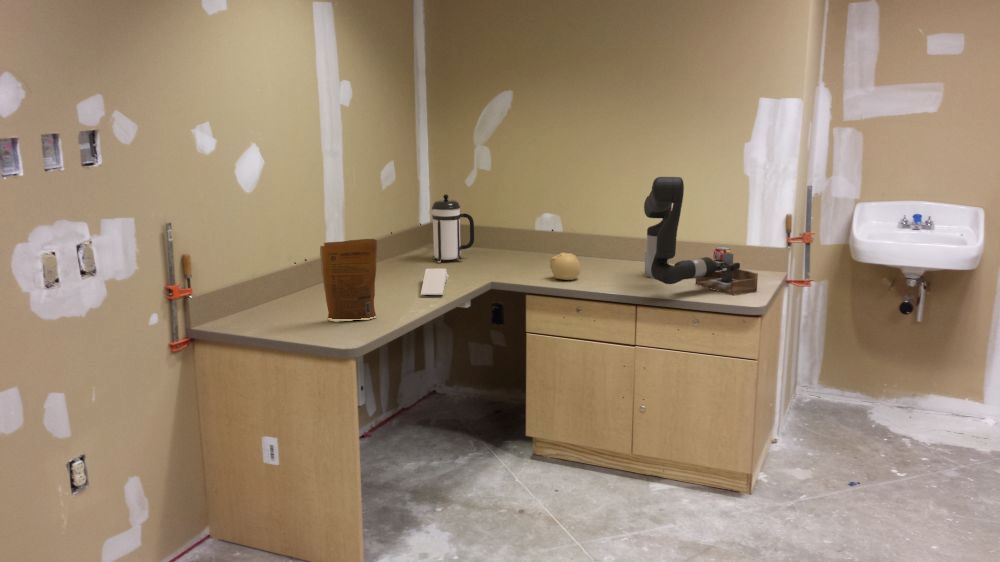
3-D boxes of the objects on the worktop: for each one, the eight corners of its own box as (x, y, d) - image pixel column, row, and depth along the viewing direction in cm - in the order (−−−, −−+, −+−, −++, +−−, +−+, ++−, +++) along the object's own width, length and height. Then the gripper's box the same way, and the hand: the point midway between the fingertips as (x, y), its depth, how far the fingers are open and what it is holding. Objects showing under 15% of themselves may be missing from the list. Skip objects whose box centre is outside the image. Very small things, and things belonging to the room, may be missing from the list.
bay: (695, 284, 350) (696, 266, 349) (718, 280, 356) (719, 263, 354) (733, 295, 332) (733, 276, 331) (756, 291, 338) (757, 273, 336)
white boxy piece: (442, 312, 335) (446, 285, 361) (447, 294, 333) (450, 269, 359) (416, 306, 334) (422, 280, 360) (420, 288, 332) (426, 263, 358)
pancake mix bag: (381, 321, 301) (378, 239, 294) (323, 324, 297) (319, 242, 291) (380, 316, 307) (376, 236, 301) (323, 319, 304) (319, 238, 297)
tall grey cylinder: (719, 284, 345) (720, 250, 342) (726, 283, 347) (728, 249, 344) (726, 286, 341) (728, 251, 338) (734, 285, 343) (735, 250, 340)
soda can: (730, 278, 360) (732, 249, 357) (712, 278, 361) (714, 249, 358) (730, 275, 366) (731, 246, 364) (712, 274, 368) (713, 245, 365)
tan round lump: (570, 274, 370) (570, 249, 367) (585, 280, 359) (585, 254, 357) (546, 277, 365) (546, 251, 362) (560, 283, 354) (560, 256, 352)
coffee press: (452, 265, 390) (451, 197, 383) (424, 261, 398) (422, 195, 392) (475, 258, 404) (474, 193, 397) (447, 255, 413) (445, 191, 406)
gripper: (712, 261, 329) (745, 257, 336) (686, 255, 341) (719, 251, 349) (711, 281, 330) (744, 276, 338) (686, 274, 343) (718, 269, 350)
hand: (731, 263), depth 343 cm, fingers open, 8 cm apart
